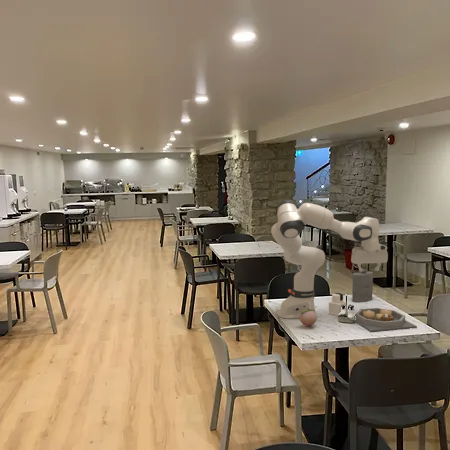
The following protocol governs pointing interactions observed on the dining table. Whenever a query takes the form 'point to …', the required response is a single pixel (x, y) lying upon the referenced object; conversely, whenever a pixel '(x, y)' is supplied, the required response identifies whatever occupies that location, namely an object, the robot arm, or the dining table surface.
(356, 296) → the flask
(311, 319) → the decorative fruit
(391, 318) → the planet gear
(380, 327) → the grey octagonal tray
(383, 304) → the dining table surface
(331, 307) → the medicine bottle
